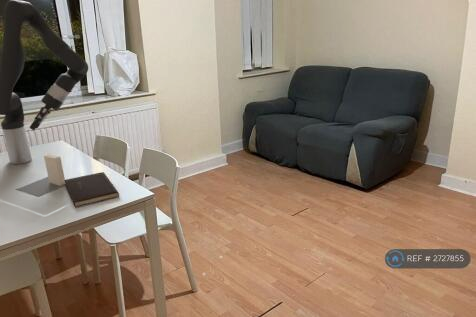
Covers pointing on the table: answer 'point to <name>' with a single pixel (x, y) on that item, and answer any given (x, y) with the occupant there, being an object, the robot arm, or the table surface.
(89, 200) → the hardcover book
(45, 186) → the charcoal mat
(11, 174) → the table surface
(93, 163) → the table surface
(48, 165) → the cream box
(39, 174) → the table surface
